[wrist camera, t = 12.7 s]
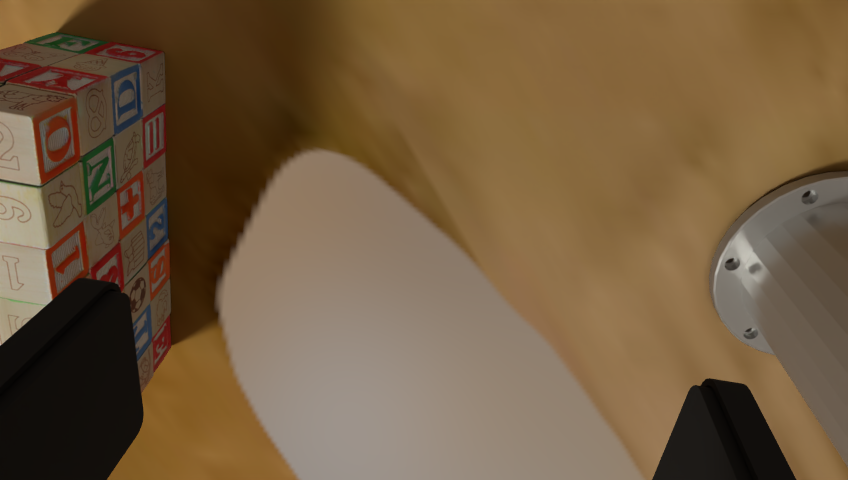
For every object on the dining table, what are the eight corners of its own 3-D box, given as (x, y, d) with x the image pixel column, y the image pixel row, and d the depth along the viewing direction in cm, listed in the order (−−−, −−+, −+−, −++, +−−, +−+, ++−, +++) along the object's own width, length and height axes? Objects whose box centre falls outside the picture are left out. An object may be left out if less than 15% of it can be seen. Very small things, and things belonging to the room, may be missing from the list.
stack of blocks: (175, 347, 46) (83, 487, 35) (88, 332, 46) (-31, 468, 35) (165, 48, 35) (30, 117, 25) (53, 27, 35) (-132, 87, 24)
